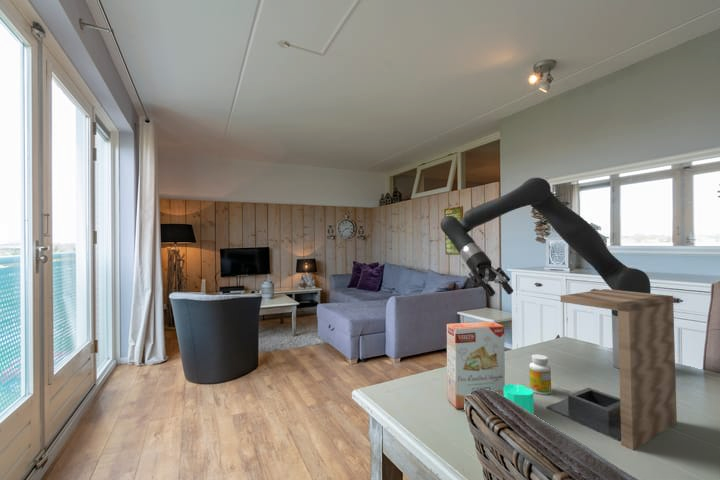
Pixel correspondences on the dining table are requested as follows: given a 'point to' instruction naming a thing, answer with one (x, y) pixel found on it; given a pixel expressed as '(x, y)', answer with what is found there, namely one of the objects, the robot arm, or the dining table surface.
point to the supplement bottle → (540, 375)
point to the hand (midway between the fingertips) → (502, 294)
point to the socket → (592, 411)
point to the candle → (520, 396)
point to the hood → (641, 360)
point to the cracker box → (474, 359)
